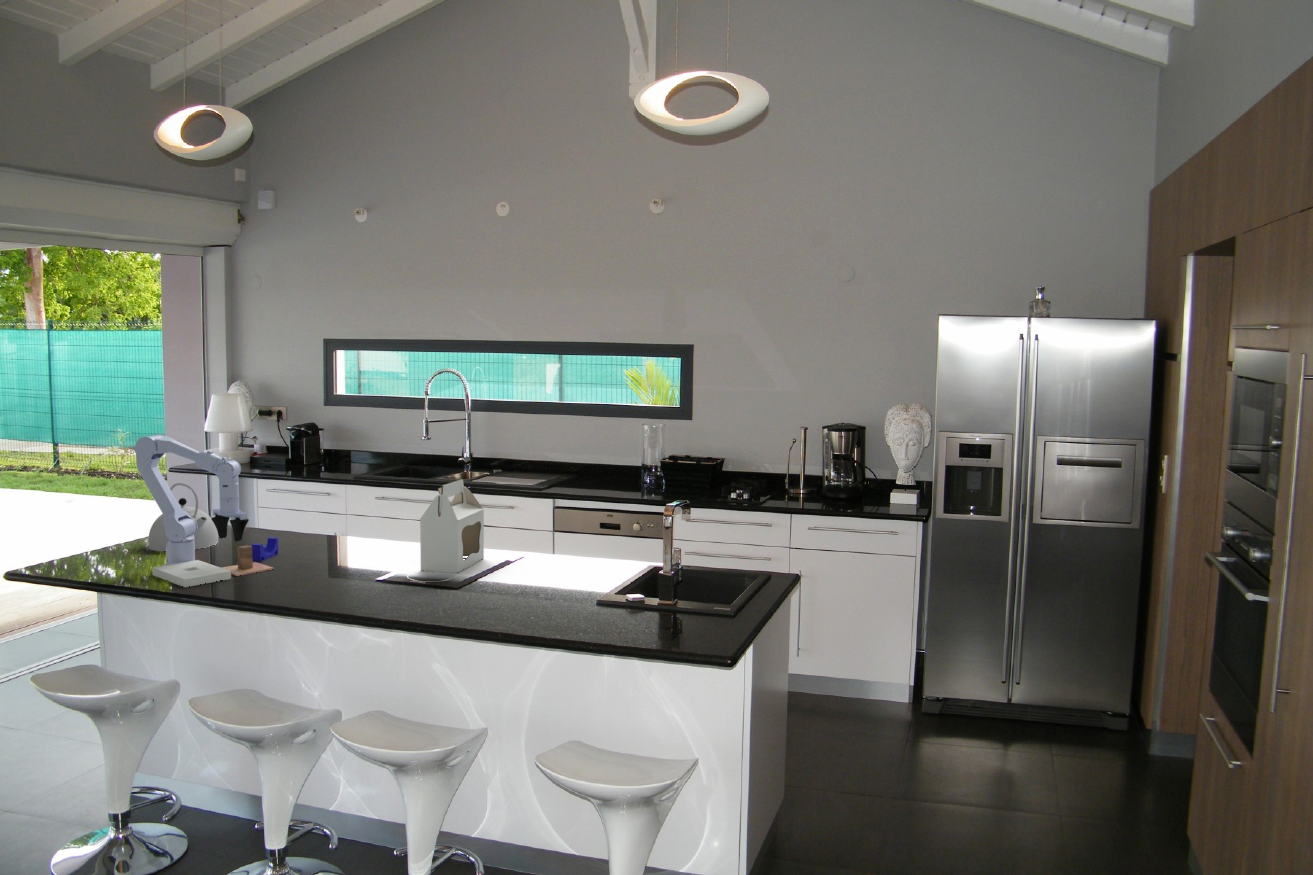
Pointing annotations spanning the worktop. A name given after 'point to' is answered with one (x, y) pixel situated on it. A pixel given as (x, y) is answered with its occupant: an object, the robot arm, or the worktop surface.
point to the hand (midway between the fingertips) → (230, 539)
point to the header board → (191, 573)
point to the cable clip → (265, 550)
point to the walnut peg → (244, 557)
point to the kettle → (202, 537)
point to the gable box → (452, 530)
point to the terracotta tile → (256, 568)
